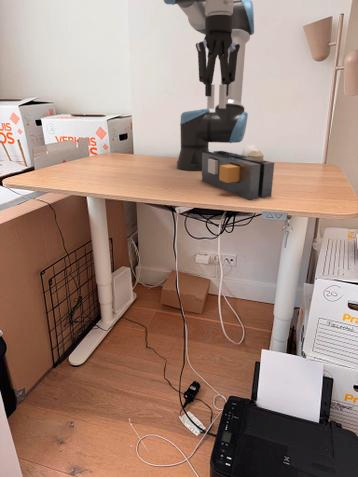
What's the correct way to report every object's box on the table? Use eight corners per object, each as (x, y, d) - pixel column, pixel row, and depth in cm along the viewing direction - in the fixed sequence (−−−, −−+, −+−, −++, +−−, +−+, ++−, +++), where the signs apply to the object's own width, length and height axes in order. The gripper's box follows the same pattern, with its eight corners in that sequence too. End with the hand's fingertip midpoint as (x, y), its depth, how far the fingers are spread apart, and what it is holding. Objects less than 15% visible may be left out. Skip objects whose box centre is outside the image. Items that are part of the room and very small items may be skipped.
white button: (214, 174, 110) (215, 160, 108) (207, 172, 114) (208, 158, 112) (226, 173, 112) (226, 159, 110) (218, 170, 115) (219, 157, 114)
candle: (262, 177, 124) (264, 150, 120) (260, 180, 119) (263, 152, 115) (247, 176, 126) (249, 149, 122) (245, 179, 121) (246, 151, 117)
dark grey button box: (249, 200, 97) (251, 164, 93) (201, 180, 120) (202, 151, 117) (271, 196, 100) (274, 162, 96) (220, 178, 124) (221, 150, 120)
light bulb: (255, 175, 128) (257, 145, 123) (238, 174, 130) (239, 145, 126) (259, 172, 133) (262, 143, 129) (243, 170, 136) (245, 142, 132)
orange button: (227, 182, 99) (227, 167, 97) (219, 179, 102) (219, 165, 101) (239, 181, 100) (240, 166, 99) (231, 178, 104) (232, 164, 102)
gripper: (199, 10, 85) (198, 109, 94) (252, 16, 92) (246, 108, 101) (186, 16, 91) (186, 108, 100) (236, 21, 98) (232, 107, 107)
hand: (216, 108), depth 100 cm, fingers open, 3 cm apart
